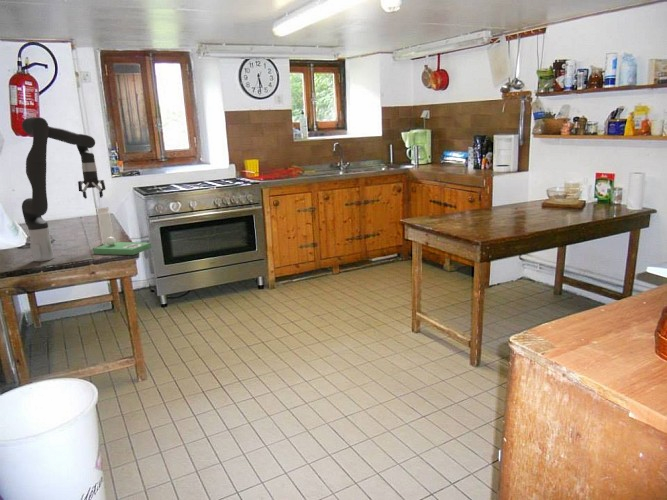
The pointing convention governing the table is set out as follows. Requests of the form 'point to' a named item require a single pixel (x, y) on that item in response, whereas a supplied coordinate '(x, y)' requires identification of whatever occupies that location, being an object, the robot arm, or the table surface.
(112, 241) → the ball
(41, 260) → the robot arm
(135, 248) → the green
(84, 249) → the table surface
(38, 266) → the table surface
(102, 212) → the milk
